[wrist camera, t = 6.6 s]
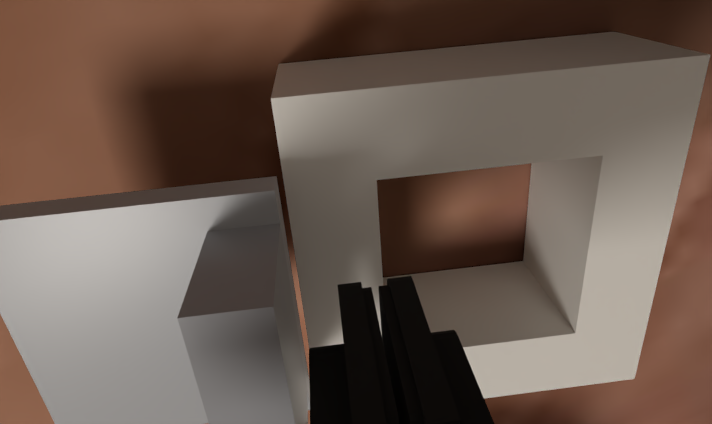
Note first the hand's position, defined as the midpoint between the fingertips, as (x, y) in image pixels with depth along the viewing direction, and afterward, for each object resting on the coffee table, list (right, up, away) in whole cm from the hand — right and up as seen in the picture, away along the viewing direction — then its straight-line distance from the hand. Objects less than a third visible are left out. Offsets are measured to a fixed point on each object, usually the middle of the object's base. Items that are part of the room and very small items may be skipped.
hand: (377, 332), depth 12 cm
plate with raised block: (-5, 0, +1) cm, 6 cm away
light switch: (+3, +3, +6) cm, 7 cm away
